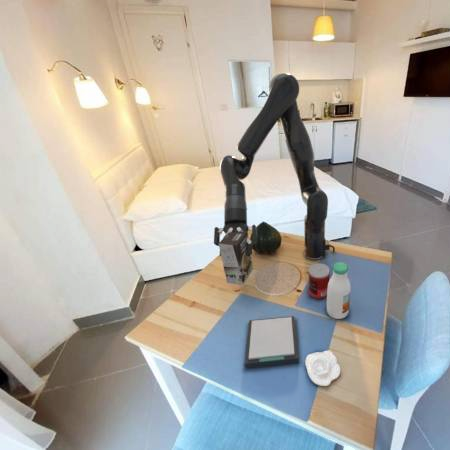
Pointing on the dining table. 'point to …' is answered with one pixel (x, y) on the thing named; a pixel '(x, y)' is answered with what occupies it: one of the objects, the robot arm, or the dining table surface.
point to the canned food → (318, 280)
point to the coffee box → (236, 257)
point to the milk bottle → (338, 292)
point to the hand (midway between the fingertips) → (236, 257)
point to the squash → (266, 239)
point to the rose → (322, 367)
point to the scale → (271, 342)
